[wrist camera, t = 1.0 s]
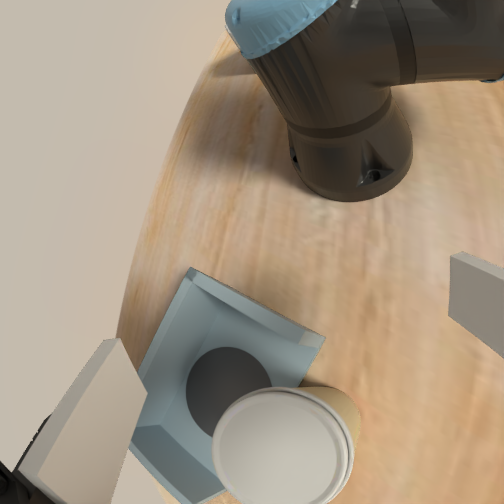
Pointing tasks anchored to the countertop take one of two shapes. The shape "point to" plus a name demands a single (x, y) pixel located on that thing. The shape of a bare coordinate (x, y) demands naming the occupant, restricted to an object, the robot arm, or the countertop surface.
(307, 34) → the robot arm
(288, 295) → the countertop surface
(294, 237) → the countertop surface
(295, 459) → the coffee cup
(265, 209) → the countertop surface
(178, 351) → the walled barrier
